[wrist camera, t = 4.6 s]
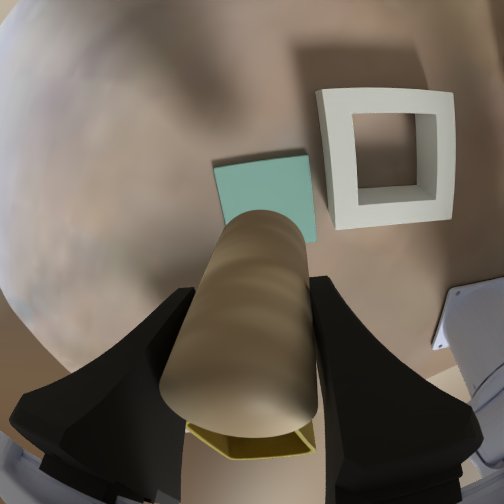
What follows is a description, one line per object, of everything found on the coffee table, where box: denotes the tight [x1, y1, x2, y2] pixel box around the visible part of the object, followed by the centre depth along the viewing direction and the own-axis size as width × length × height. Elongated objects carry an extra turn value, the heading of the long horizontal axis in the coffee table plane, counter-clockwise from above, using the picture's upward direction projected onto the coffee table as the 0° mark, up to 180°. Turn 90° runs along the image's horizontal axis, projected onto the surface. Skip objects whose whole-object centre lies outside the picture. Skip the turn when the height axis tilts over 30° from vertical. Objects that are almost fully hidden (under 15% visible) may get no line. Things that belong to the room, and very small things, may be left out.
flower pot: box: [186, 420, 316, 460], centre depth 23 cm, size 9×9×9 cm
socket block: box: [315, 88, 456, 230], centre depth 15 cm, size 8×8×3 cm
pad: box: [214, 154, 317, 243], centre depth 19 cm, size 6×6×1 cm
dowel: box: [159, 209, 318, 438], centre depth 10 cm, size 4×4×8 cm
